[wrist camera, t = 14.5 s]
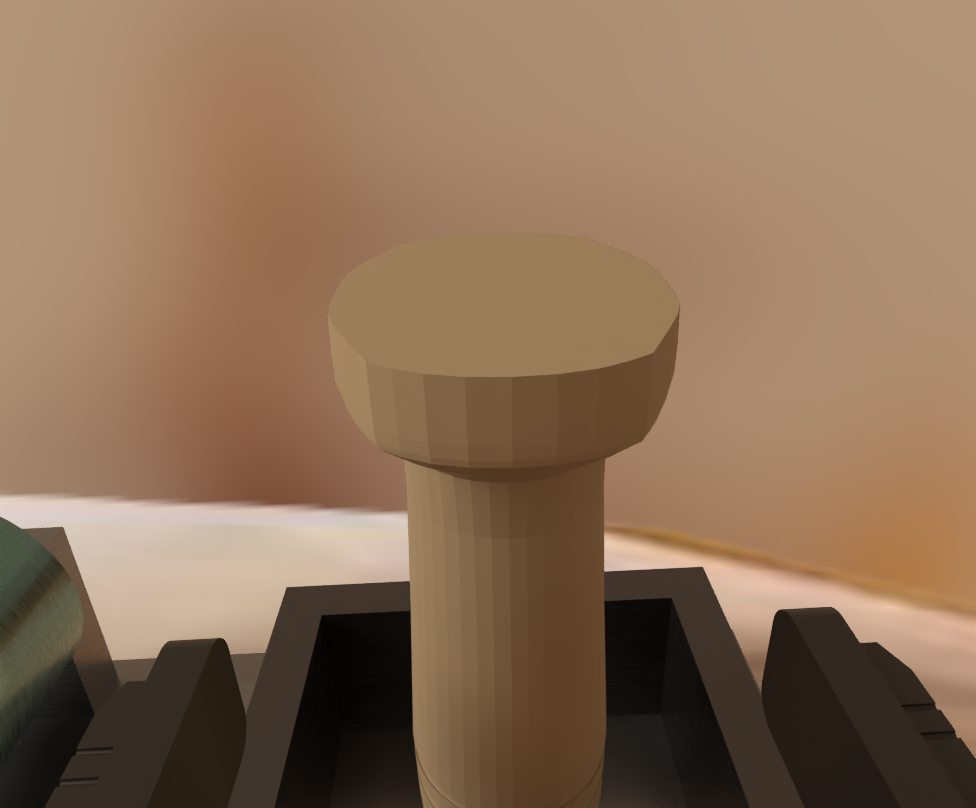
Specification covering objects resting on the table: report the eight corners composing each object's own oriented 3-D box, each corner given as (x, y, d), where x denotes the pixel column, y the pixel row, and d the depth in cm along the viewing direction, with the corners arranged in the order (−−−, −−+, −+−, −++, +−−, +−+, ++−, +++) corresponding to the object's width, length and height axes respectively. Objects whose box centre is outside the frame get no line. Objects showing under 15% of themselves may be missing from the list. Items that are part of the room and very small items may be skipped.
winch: (1067, 1464, 11) (1422, 1205, 7) (-800, 1581, 11) (-1762, 1394, 6) (727, 661, 25) (766, 407, 21) (-81, 702, 25) (-218, 453, 21)
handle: (593, 768, 20) (625, 229, 14) (640, 1057, 14) (736, 370, 8) (420, 774, 20) (365, 237, 13) (399, 1066, 14) (285, 383, 8)
